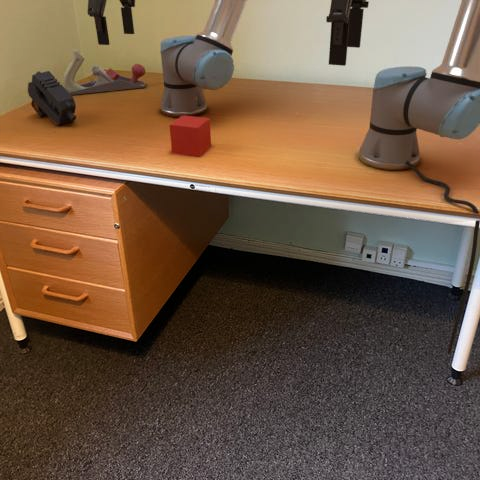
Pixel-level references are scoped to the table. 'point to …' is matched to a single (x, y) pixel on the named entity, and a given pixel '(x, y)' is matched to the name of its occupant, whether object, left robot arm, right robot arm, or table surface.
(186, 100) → the left robot arm
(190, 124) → the block
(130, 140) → the table surface
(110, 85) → the hand plane
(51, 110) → the tool
